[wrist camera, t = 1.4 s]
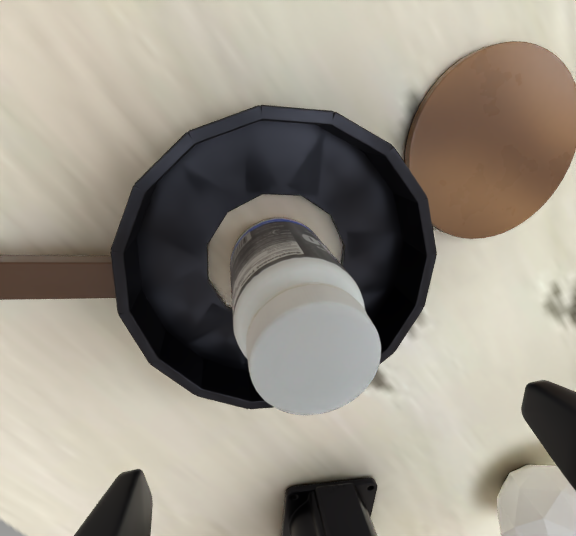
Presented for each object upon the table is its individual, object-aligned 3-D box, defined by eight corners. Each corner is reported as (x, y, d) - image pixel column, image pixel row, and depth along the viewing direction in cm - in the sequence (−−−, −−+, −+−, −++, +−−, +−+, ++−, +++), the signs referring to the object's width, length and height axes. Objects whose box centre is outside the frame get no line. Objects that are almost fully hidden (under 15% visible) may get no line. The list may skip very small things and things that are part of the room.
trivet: (537, 237, 20) (544, 240, 20) (389, 234, 19) (393, 237, 18) (599, 55, 17) (610, 53, 16) (426, 31, 15) (432, 28, 15)
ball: (495, 432, 30) (596, 453, 23) (562, 494, 31) (684, 535, 23) (454, 517, 27) (555, 572, 20) (529, 585, 28) (656, 665, 20)
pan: (383, 368, 22) (402, 398, 20) (-29, 391, 18) (-68, 432, 15) (433, 122, 17) (468, 122, 14) (-131, 74, 13) (-212, 64, 10)
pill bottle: (336, 275, 19) (415, 380, 11) (258, 318, 19) (284, 450, 11) (297, 197, 17) (359, 259, 9) (210, 245, 17) (202, 346, 9)
